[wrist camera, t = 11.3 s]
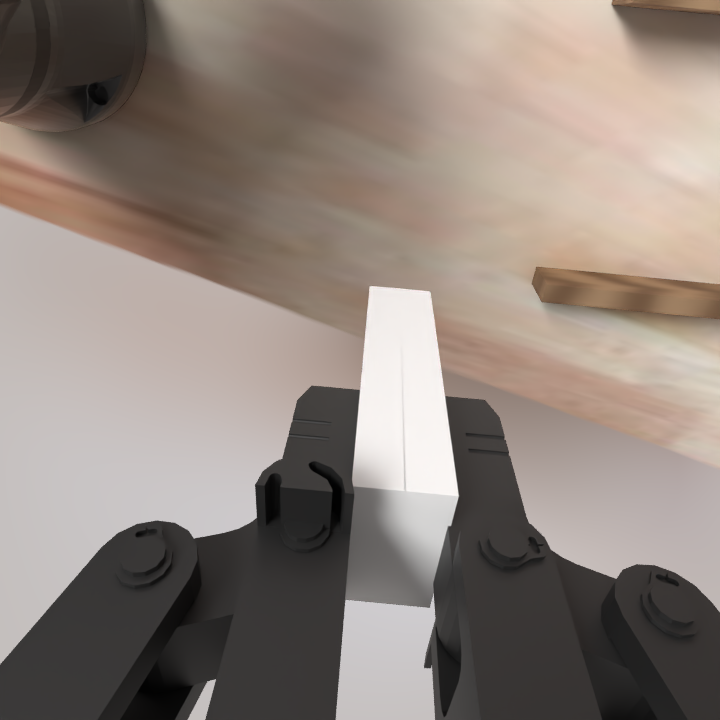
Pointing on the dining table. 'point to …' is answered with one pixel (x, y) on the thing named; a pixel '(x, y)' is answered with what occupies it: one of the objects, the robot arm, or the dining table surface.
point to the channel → (632, 289)
